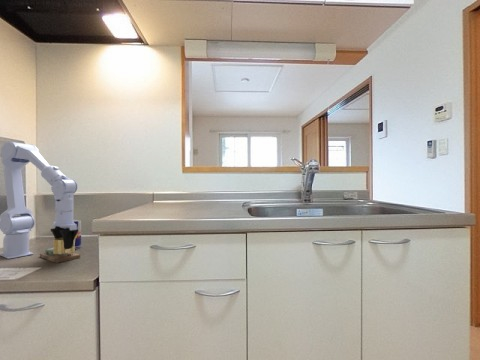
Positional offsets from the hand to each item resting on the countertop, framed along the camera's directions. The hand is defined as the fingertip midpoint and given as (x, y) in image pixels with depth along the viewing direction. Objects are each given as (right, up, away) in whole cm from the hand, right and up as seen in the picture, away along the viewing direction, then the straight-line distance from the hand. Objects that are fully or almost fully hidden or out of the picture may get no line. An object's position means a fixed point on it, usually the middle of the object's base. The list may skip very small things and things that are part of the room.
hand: (64, 247), depth 101 cm
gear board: (-3, -4, +2) cm, 5 cm away
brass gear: (0, -2, 0) cm, 2 cm away
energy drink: (-6, -5, +16) cm, 18 cm away
